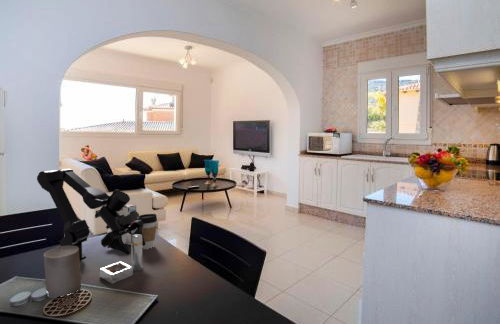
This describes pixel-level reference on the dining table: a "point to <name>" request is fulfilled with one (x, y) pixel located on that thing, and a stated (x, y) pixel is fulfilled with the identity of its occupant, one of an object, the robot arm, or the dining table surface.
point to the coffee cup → (148, 229)
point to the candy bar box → (127, 210)
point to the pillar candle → (62, 270)
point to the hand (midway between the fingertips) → (137, 249)
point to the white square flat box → (116, 272)
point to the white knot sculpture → (125, 237)
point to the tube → (136, 252)
